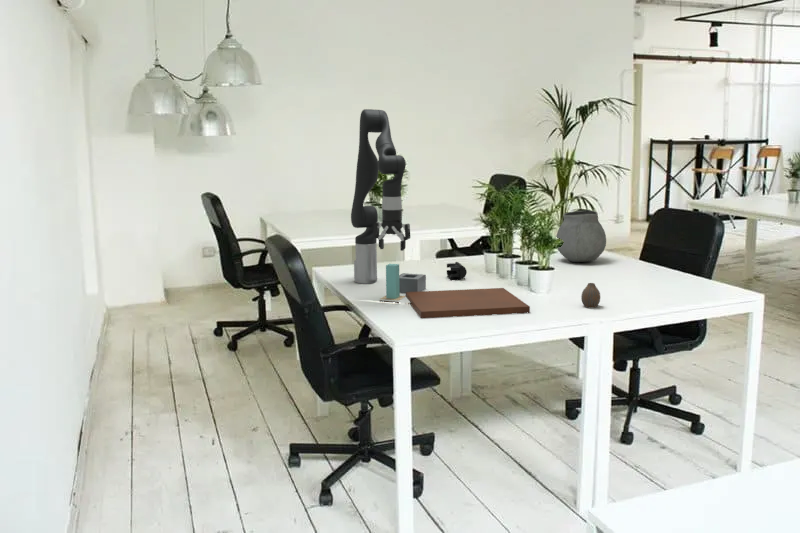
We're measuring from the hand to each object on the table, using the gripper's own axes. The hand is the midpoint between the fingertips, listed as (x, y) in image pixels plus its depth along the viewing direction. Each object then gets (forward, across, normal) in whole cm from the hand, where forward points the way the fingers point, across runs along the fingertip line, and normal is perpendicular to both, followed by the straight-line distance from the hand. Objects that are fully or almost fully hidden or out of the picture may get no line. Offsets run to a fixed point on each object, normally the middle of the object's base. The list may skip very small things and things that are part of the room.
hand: (392, 249), depth 291 cm
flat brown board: (+21, +29, +1) cm, 36 cm away
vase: (+20, +74, +14) cm, 78 cm away
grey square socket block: (+20, +2, +14) cm, 25 cm away
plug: (+19, 0, 0) cm, 19 cm away
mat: (+20, 0, 0) cm, 20 cm away
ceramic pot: (+21, +57, +108) cm, 124 cm away
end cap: (+21, +11, +49) cm, 54 cm away
